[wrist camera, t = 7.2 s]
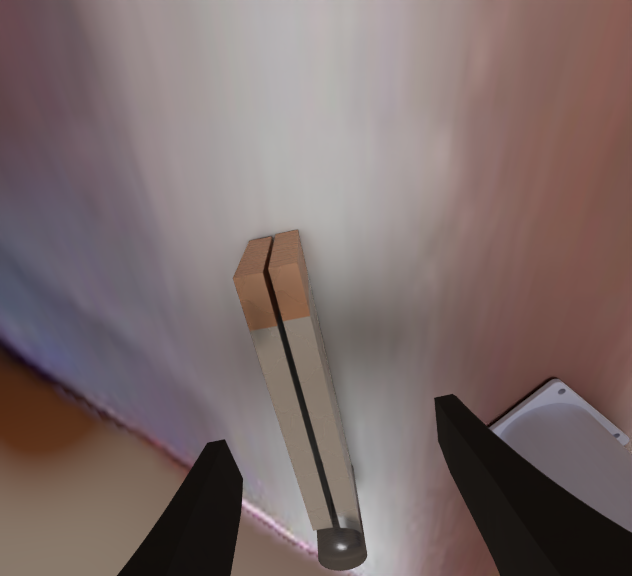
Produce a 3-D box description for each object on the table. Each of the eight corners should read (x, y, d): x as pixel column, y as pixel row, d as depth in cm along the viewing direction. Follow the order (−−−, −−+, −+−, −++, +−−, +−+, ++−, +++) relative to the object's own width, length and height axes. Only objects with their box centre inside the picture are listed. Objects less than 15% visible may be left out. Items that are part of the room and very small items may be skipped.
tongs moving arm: (326, 455, 25) (332, 527, 21) (310, 458, 25) (313, 530, 21) (271, 236, 18) (262, 272, 14) (249, 240, 18) (232, 278, 14)
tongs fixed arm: (356, 480, 27) (370, 566, 22) (318, 487, 27) (323, 573, 22) (299, 229, 18) (299, 269, 13) (244, 240, 18) (223, 285, 13)
